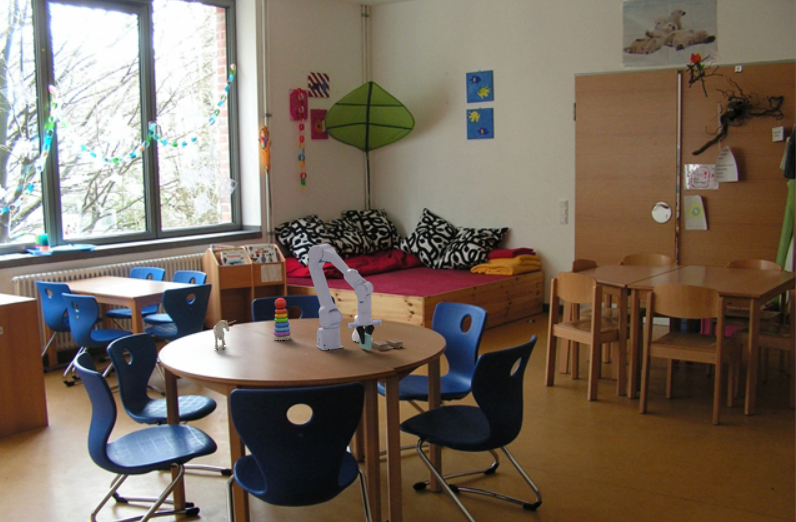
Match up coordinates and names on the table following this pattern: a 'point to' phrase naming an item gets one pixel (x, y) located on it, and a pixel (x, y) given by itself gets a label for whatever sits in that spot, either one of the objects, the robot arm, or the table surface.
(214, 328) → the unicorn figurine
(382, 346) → the slot block
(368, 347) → the teal rectangular block
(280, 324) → the stacking toy
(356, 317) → the sitting furry creature
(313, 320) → the table surface
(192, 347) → the table surface
